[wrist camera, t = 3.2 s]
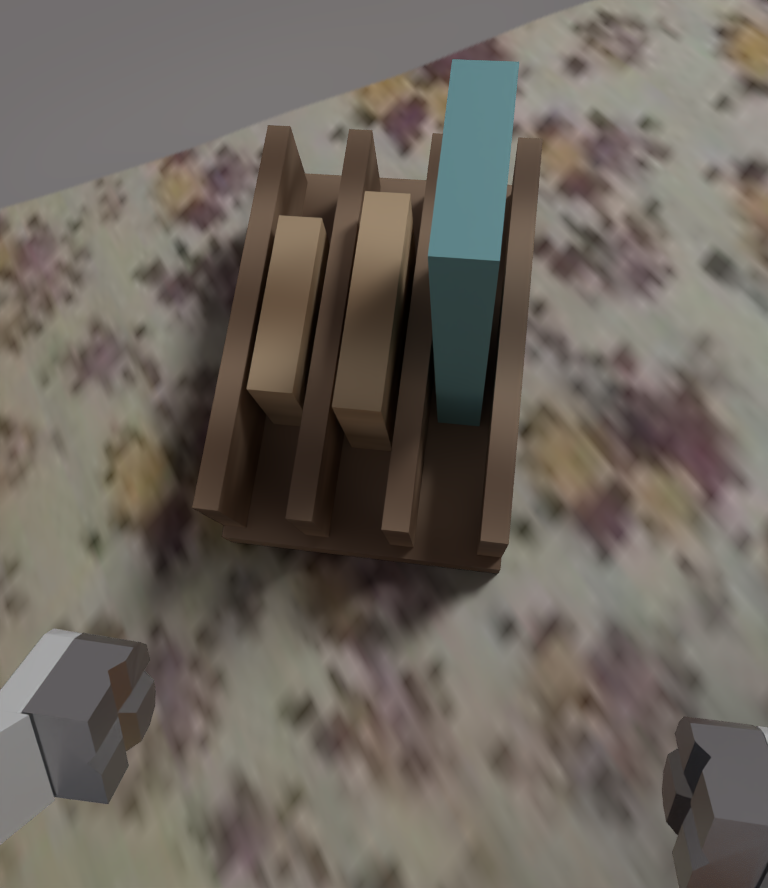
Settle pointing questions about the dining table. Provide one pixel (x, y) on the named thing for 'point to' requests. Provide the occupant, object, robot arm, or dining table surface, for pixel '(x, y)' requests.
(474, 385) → the tall teal board
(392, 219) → the short oak offcut
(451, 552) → the walnut board rack
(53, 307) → the dining table surface
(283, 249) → the small oak offcut
